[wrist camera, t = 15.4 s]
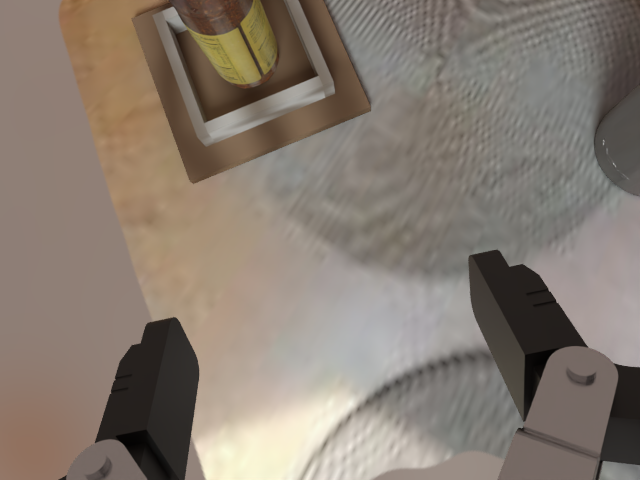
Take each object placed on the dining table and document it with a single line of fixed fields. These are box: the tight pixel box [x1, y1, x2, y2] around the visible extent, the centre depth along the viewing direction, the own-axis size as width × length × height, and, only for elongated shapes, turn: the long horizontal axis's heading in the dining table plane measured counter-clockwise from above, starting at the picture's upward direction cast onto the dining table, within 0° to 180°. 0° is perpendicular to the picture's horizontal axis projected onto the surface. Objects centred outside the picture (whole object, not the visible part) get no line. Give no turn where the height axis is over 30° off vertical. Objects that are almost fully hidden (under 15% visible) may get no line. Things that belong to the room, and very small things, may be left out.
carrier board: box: [132, 0, 371, 184], centre depth 50 cm, size 18×18×4 cm
